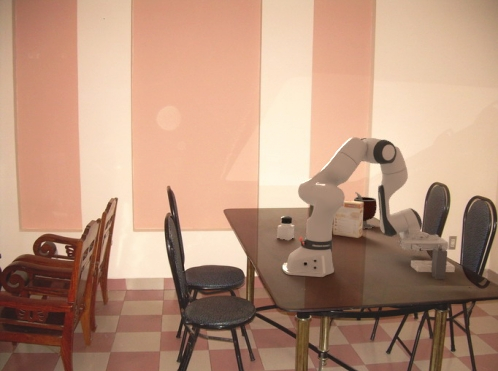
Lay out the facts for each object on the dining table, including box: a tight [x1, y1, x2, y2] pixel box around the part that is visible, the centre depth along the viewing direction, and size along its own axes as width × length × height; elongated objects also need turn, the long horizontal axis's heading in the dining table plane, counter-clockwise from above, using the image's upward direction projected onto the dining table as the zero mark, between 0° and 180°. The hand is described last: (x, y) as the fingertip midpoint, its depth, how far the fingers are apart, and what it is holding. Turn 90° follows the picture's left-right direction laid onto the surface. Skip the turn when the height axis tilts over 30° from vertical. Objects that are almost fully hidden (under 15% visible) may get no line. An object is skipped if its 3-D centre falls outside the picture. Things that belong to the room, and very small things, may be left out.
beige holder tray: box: [410, 260, 456, 273], centre depth 210 cm, size 16×8×4 cm, turn 92°
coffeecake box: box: [332, 199, 364, 239], centre depth 272 cm, size 15×7×20 cm, turn 59°
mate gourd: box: [353, 191, 378, 229], centre depth 295 cm, size 16×14×20 cm
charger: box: [430, 245, 448, 280], centre depth 199 cm, size 4×5×14 cm
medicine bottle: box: [276, 215, 296, 241], centre depth 263 cm, size 7×7×12 cm
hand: (430, 249), depth 208 cm, fingers open, 8 cm apart
